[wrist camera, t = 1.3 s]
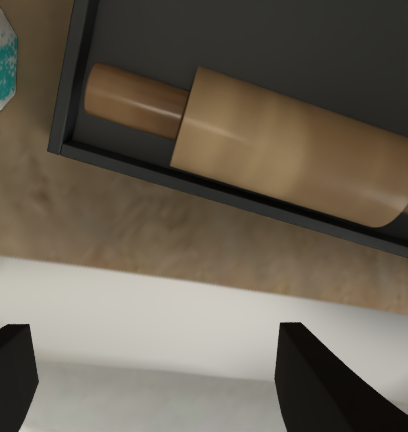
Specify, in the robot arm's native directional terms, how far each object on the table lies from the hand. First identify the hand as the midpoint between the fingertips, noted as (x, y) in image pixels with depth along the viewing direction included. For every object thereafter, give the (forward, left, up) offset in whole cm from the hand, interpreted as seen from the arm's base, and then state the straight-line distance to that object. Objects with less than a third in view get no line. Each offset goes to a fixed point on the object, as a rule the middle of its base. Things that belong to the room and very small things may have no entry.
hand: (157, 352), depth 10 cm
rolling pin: (-4, -6, -8) cm, 11 cm away
